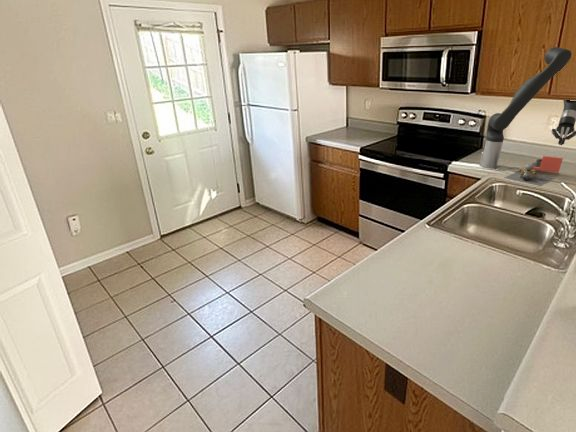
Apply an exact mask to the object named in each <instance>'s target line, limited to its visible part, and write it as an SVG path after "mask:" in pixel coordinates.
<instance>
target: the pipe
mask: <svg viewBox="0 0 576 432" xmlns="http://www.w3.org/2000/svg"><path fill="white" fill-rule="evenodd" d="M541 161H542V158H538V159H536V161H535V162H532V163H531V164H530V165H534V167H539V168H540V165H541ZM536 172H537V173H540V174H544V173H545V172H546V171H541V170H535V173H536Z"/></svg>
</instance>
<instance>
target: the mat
mask: <svg viewBox="0 0 576 432" xmlns="http://www.w3.org/2000/svg"><path fill="white" fill-rule="evenodd" d="M520 174H521V171H520V170H518V171H516V172H514V173H512V174H510V175H507V176H505V177H503V179H508V180H512V181H516V182H521V183H523V184H524V183H525V184H529V185H534V186H538V187H542V186H544V185H546V184H547V183H549V182H551V181H553V180H554V179H555V177H550V176H545V175H541V174H534V178H533V180H530V181H524V180H523V178H520Z"/></svg>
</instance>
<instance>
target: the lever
mask: <svg viewBox="0 0 576 432" xmlns="http://www.w3.org/2000/svg"><path fill="white" fill-rule="evenodd" d="M541 159H542V161H541V165H540V168H539V167H534V165H531V164H525V166H524V168H525V169H528V170H541V171H545V172H550V173H560V169H561V165H562V162H563V160H564V158H563V157H556V156H550V155H549V156H548V155H543V156H542V158H541Z"/></svg>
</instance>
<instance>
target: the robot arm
mask: <svg viewBox="0 0 576 432" xmlns="http://www.w3.org/2000/svg"><path fill="white" fill-rule="evenodd" d="M572 54H573V53H572V50H570V49H566V48H563V47H560V46H559V47H558V46H557V47H556V46H554V47H551V48H549V49H548V50H547V51H546V53H545V55H544V61H545V63H546V67H545V68H544V69H543V70H541V71H540V72H539V73H537V74H535V75H534V76H532V77H530V78H529V79H527V80H526V81H524V82H523V83H522V84H521V86H519V88H518V89H517V90H516V91H515V93H514V95H513V97H512V100H511V101H510V103H509V104H508V106H507V107H506V108H505V109H504V110H503V111H502V112H501V113H500V112H496V113H494V114H492V115H491V117H489V119H488V122H487V129H486V140H485V144H484V149H483V151H482V152H481V156H480V161H479V167H482V168H483V169H488V170H496V169H497V168H498V166H499V161H500V156H501V153H502V148H503V144H504V139H505V136H504V130H505V129H506V128H508V127H509V126H510V124H511V123H512V122H513V120H514V119H515V118H516V117H517V116H518V114H519V113H520V112H521V111H522V110H523V109H524V108H525V107H526V106H527V104H528V103H529V102H530V101H531V100H532V99H533V98H535V96H536V95H537V94H538V93H539V92H540V91H541V90H542V88H543V87H544V86H545V85H546V84H547V83H548V82H550V80H552V78H553V77H554V76H556V75H555V74H556V73H557V72H558V71H560V70H561V69H562V68H563V67H564V66H566V65H567V64H568V63H569V62H570V60H571V58H572ZM547 64H549V65H547ZM561 113H562V114H561V116H560V119H559V122H558V126H556V128H552V129H551V134H552V135H553V136H554V137H555V138H554V139H558V142H557V143H558V145H559V146H563V145H565V141H566V140H568V141H569V140H570V139H572V138H574V137H576V130H575V124H576V101H570V100H563V110H562V112H561Z"/></svg>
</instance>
